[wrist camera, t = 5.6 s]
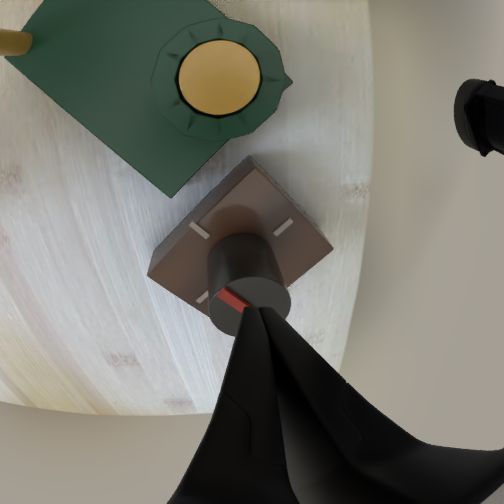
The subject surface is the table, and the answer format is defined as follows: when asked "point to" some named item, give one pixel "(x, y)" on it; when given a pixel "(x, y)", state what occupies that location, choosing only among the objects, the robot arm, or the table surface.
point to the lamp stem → (14, 42)
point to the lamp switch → (219, 77)
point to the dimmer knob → (243, 280)
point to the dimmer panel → (237, 222)
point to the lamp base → (144, 78)
